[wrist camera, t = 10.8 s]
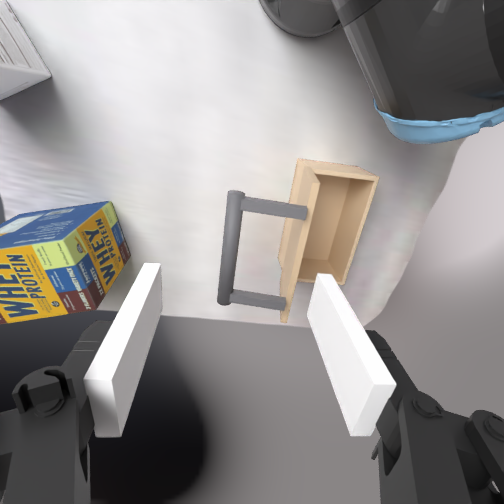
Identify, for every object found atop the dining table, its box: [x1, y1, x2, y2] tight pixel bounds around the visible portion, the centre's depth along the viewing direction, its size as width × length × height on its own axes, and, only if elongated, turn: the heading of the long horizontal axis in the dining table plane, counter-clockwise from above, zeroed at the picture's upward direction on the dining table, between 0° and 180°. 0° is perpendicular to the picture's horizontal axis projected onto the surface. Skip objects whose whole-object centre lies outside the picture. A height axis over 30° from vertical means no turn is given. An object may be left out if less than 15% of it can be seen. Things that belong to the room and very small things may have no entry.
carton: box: [278, 159, 380, 285], centre depth 47 cm, size 18×10×8 cm, turn 172°
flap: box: [217, 166, 320, 323], centre depth 38 cm, size 18×12×9 cm
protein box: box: [0, 201, 131, 324], centre depth 42 cm, size 10×15×16 cm
